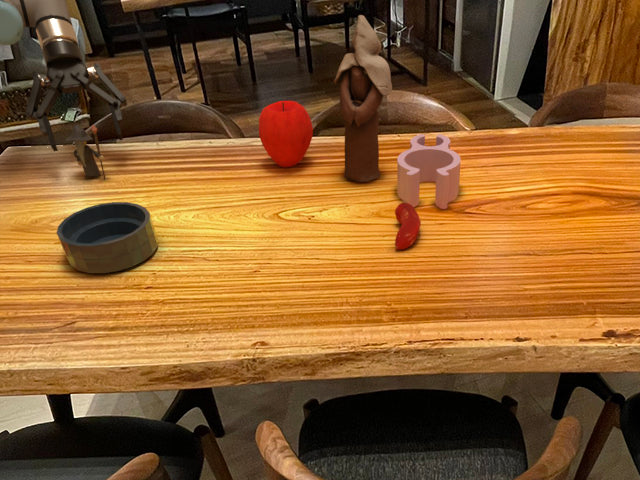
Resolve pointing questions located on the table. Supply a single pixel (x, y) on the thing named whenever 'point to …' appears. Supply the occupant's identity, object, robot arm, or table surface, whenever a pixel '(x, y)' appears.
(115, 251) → the basin
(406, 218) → the vegetable
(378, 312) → the table surface
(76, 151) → the wizard figurine
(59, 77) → the robot arm
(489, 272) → the table surface
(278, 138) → the apple
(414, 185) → the clip
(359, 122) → the sculpture
